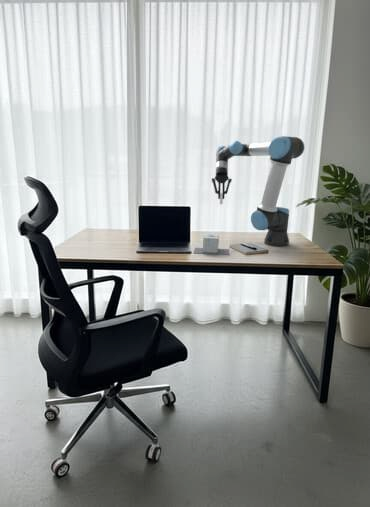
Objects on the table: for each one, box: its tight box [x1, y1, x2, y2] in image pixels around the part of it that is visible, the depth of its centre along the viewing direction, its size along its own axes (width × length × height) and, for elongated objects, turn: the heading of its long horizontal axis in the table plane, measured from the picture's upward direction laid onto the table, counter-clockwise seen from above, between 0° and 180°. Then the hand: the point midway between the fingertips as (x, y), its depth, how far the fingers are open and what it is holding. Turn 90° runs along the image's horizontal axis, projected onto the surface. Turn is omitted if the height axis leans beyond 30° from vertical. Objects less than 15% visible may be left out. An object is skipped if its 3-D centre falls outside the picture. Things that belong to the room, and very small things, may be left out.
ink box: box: [202, 233, 220, 253], centre depth 210 cm, size 9×9×12 cm
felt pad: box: [193, 247, 231, 256], centre depth 210 cm, size 20×12×1 cm, turn 84°
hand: (221, 203), depth 229 cm, fingers closed
